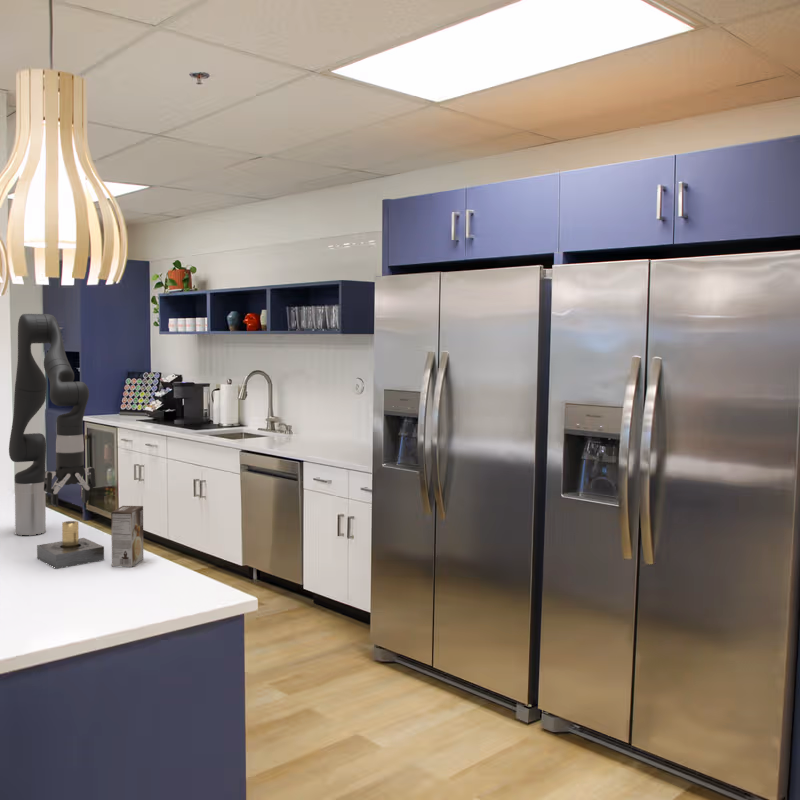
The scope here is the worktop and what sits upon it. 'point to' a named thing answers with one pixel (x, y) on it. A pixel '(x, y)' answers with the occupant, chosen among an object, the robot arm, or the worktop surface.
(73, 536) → the bushing
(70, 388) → the robot arm
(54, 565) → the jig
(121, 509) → the coffee box
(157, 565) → the worktop surface
